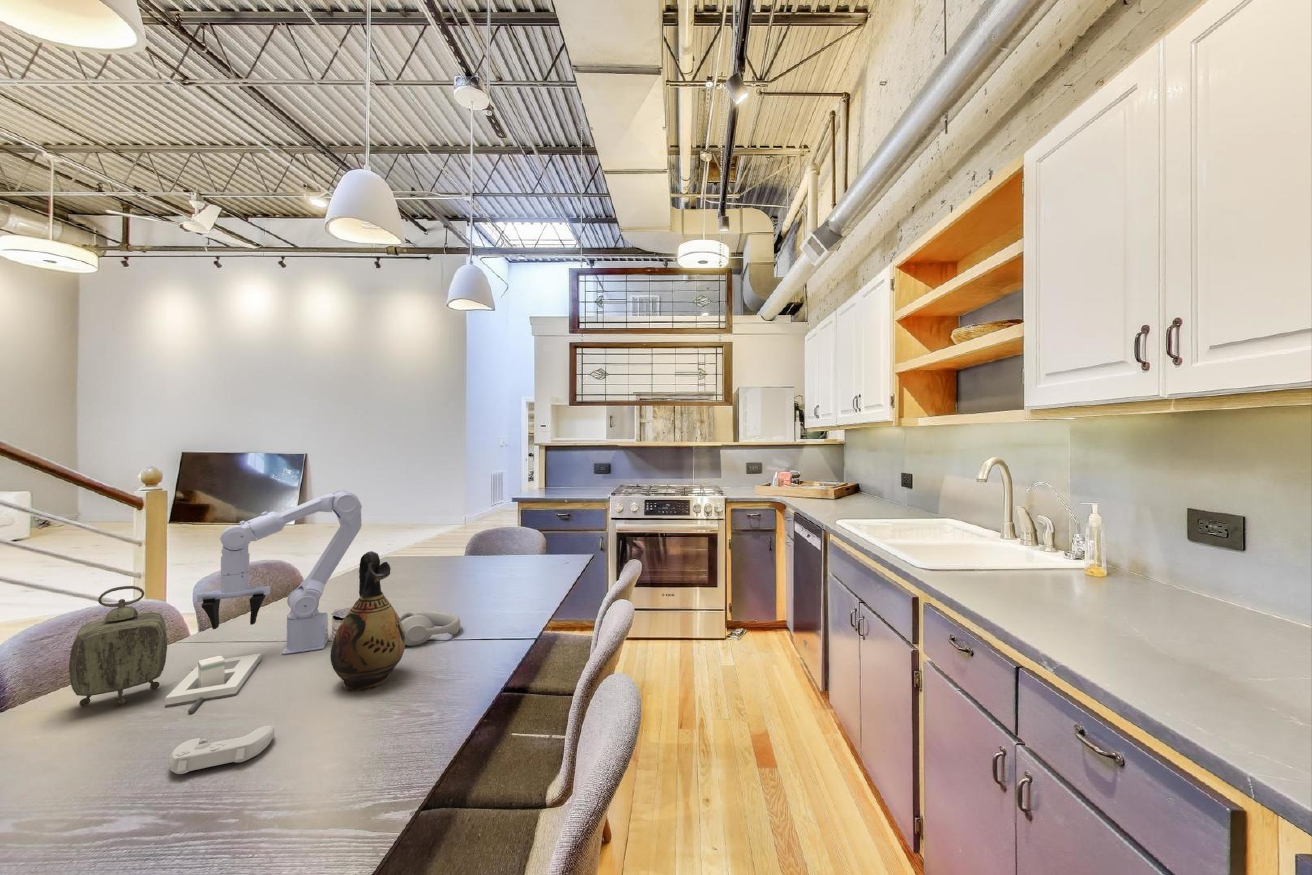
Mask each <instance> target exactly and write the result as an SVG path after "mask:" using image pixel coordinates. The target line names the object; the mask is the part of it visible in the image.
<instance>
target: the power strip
mask: <svg viewBox="0 0 1312 875" xmlns="http://www.w3.org/2000/svg"><path fill="white" fill-rule="evenodd" d="M223 659H224V660H225V666H224V684H222V685H216V686H210V687H204V688H198V665H196V667H195V668H194V669H193V670H192V671H191V672H189V674H188V675H187V676H186V677H184V679H182V680H181V681H180V683H179V684H177V685H176V686H175V687H174V688H173V690H172V691H170V692H169V694H168V695H166V696H165V698H164V699H165V700H164V701H165V703H164V708H169V707H176V706H181V705H187V704H192V706H191V707H189V709H188V710H187V713H188V714H193V713H194V712H195V711H196V710H197V709H198V708H199V706H201V704H203V703H202V702H205V701H206V702H207V701H211V700H216V699H217V700H218V699H223V698H228V697H234V696H237V695H238V693H239V692H240V690H241V689H242V688H243V687H244V685H245V684H246V683H247V681H248V680H249V678H250V676H252V674H253V673H254V672H255V670H256V669H257V667H258V666H259V665H260V663H261V662H262V653H254V654H248V655H247V654H245V655H240V656H234V657H227V658H226V657H225V658H223Z"/></svg>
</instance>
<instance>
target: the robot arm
mask: <svg viewBox="0 0 1312 875" xmlns="http://www.w3.org/2000/svg"><path fill="white" fill-rule="evenodd" d="M362 508H363V505H362V504H361V500H359V497H358V496H357V495H356V494H355V493H352V492H349V491H346V490H343V489H342V490H337V491H334V492H333V493H331V492H329V493H327V494H324V495H321V496H318V497H315V498H313V499H311V500H308V501H306V502H303V503H301V504H299V505H296V506H295V507H292V508H289V509H287V510H285V511H282V512H277V511H269V512H267V511H266V510H265V511H263V512H261V513H260V515H259V516H257V517H255V518H252V519H249V520H246V521H245V520H240V521H239V525H236V524H235V525H231V526H228V527H226V528H225V529H224V531H222V533H221V535H220V537H219V539H220V540H219V541H220V543H221V544H222V548H221V552H220V554H222V555H221V556H220V589H217V590H210V591H202V592H201V591H200V592H199V593H198V594H197V597H196V598H197V603H201V602H202V604H201V605H200V606H201V608H202V609H203V611H204V612H205V613H206V615H207V617H208V619H209V621H210V624H211V628H212V630H216V629H218V628H219V627H220V615H219V614H220V606H221V605H220V604H221V600H224V599H233V598H242V597H243V598H244V597H250V598H249V607H250V615H249V616H250V617H249V619H250V621H249V623H250V624H249V625H250V626H252V625H255V624H256V623H257V617H258V615H259V610H260V608H261V606H262V603H263V602H264V600H265V598H266V596H269V595H270V594H271V585H260V586H259V585H258V586H256V585H255V586H254V585H253V586H250V553H249V544H250V543H251V542H257V541H259V540H261V539H264V538H267V537H269V536H271V535H274V534H276V533H279V532H281V531H283V530H284V529H285V528H284V527H285V525H287V524H288V523H291V522H293V521H296V520H299V519H303V518H305V517H308V516H310V515H314V514H315V513H316V514H317V513H319V512H323V513H332V512H333V513H334V514H335V515H336V518H337V520H338V523H339V525H340V526H339V527H338V529H337V531H336V532H335V534H334V535H333V537H332V538H331V540H330V542H329V543H328V544H327V546H326V548H325V549H324V551H323V553H322V554H321V555H320V556H319V558H318V560H317V562H316V563H315V564H314V566H313V568H312V569H311V570H310V573H309V574H308V575H307V577H306V578H304V580H302V581H301V582H300V584H299V585H298V587H297V588H295V589H294V590H292V591H291V592H290V593H289V594H288V596H287V599H286V600H287V601H286V602H287V605H288V607H289V608H290V611H289V613H288V614H286V646H285V647H284V649H283V651H282V652H281V654H282V655H288V654H295V653H297V654H298V653H303V652H310V651H316V650H322V649H324V648H325V647H326V645H327V642H328V640H329V614H328V612H319V611H320V610H319V606H320V599H321V597H322V596H323V593H324V590H325V587H326V584H327V583H328V581H329V579H330V578H331V576H332V575H333V573H334V571H335V570H336V568H337V566H338V565H339V564H340V562H341V560H342V559H343V557H344V555H345V553H347V551H348V550H349V548H350V546H351V545H352V543H353V541H354V540H355V538H356V537H357V535H358V533H359V532H360V531H361V528H362ZM251 596H252V597H251Z"/></svg>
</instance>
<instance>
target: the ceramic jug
mask: <svg viewBox="0 0 1312 875" xmlns="http://www.w3.org/2000/svg"><path fill="white" fill-rule="evenodd" d="M358 574H359V575H358V579H359V590H358V593H359V595H358V596H359V598H358V599H357V600H356V601H355V603H353V607H352V606H351V607H352V608H351V609H350V610H349V612H348V614H347V615H346V617H345V618H344V619H343V621H342V623H341V624H340V626H339V628H338V630H337V632H336V634H335V637H334V640H333V644H332V643H331V648H330V656H329V657H330V663H331V667H332V669H333V671H334V673H336V675H337V676H338V678H340V679H341V680H342V681H343V686H344V688H345V689H346V690H347V691H349V692H351V691H352V692H355V691H368V690H371V689H372V690H373V689H375V688H377V687H378V686H381V685H384V684H385V683H386V682H387V681H388V679H389V676H390V675H391V673H392V671H393V670H394V669H395V668H396V666H398V664H399V663H400V661H401V660H402V657H403V655H404V653H405V648H406V645H405V636H404V634H405V632H404V629H403V625H402V623H401V620H400V617H399V616H398V614H397V612H396V610H395V608H394V607H393V606H392V604H391V602H390V601H389V600H388V599H387V598H386V595H384V592H383V591H382V589H381V581H382V580H385V579H386V578H388V577H389V576H390V575H391V566H390V564H389V562H388V561H383V562H382V563H381V560H380V555H379V554H378V552H375V551H373V550H371V551H367V552H366V553H364V554H363V555H362V556H361V558H360V560H359V569H358Z"/></svg>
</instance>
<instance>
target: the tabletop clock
mask: <svg viewBox="0 0 1312 875" xmlns="http://www.w3.org/2000/svg"><path fill="white" fill-rule="evenodd" d="M122 590H136V591H138V592H140V593H141V595H140V596H139V597H138V598H135V599H132V600H130V601H126V600H125V599H124V598H120V599H119V600H118V602H116V603H105V602H103V601H102V599H103V597H105V596H106V595H108V594H109V593H112V592H116V591H122ZM144 596H145V591H144V590H143V588H141V587H140V586H135V585H124V586H116V587H112V588H109V589H108V590H105V591H104V592H102V593H101V594H100V596H99V597H98V600H97V601H98V603H99V605H101V606H103V607H108V608H113V609H111V610H110V611H108V613H107V614H106V615H105V618H102V619H97V620H94V621H90V622H88V623H86V624H83V625H81V626H80V628H79V629H78V631H77V634H76V636H75V638H74V641H73V644H72V646H71V649H70V656H69V662H68V663H69V664H68V673H69V682H70V685H71V688H72V692H74V694H75V696H81V697H84V698H82V699H80V700H79V704H78V705H79V706H80V707H86V706H88V705H89V704H90V703H91V697H92V696H97V695H103V694H108V693H114V692H117V696H118V698H116V699H115V701H114V705H115V706H117V707H118V706H119V707H120V706H123V705H124V704H125V703H126V698H125V697H123V693H124V692H123V691H124V690H126V689H130V688H134V687H137V686H141V685H144V684H147V683H149V684H150V685H149V689H151V690H157V689H159V687H160V682H159V681H154V680H157V679H158V678H160V677H161V675H162V673H163V671H164V668H165V665H166V662H167V653H168V652H167V651H168V636H167V626H166V622H165V619H164V616H163V615H162V614H161V612H155V611H154V612H153V611H145V612H138V610H137V609H136V608H134V607H133V606H130V605H133V604H135V603H138V602H139V601H140V600H142V599H143V597H144Z"/></svg>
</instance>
